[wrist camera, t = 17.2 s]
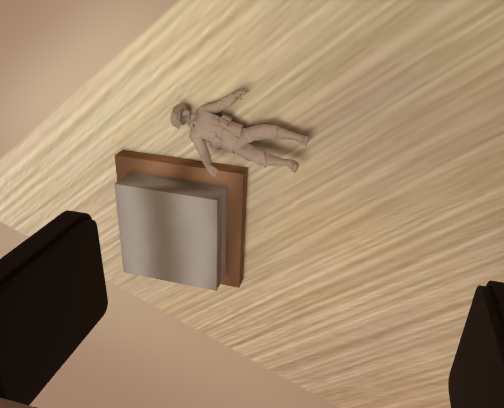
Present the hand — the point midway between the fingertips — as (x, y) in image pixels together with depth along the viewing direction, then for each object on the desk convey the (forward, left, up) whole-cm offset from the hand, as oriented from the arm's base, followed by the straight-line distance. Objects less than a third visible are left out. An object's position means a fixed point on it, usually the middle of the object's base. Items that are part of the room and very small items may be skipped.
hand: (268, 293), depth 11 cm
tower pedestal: (+15, +17, -30) cm, 37 cm away
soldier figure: (+3, +8, -29) cm, 30 cm away
